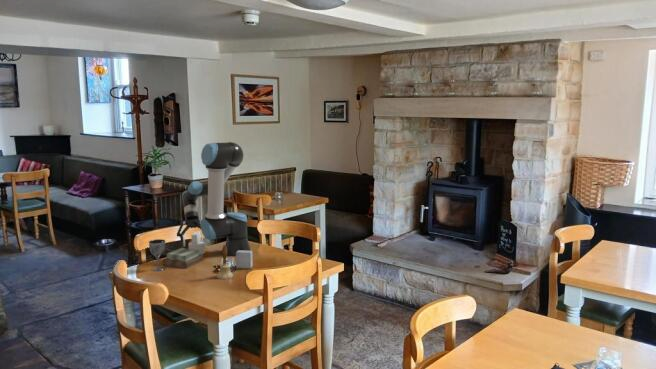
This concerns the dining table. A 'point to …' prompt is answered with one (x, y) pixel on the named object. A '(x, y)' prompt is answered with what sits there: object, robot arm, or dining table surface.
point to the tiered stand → (183, 258)
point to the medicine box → (244, 259)
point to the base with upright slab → (197, 242)
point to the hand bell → (224, 266)
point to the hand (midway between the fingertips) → (196, 244)
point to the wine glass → (157, 251)
